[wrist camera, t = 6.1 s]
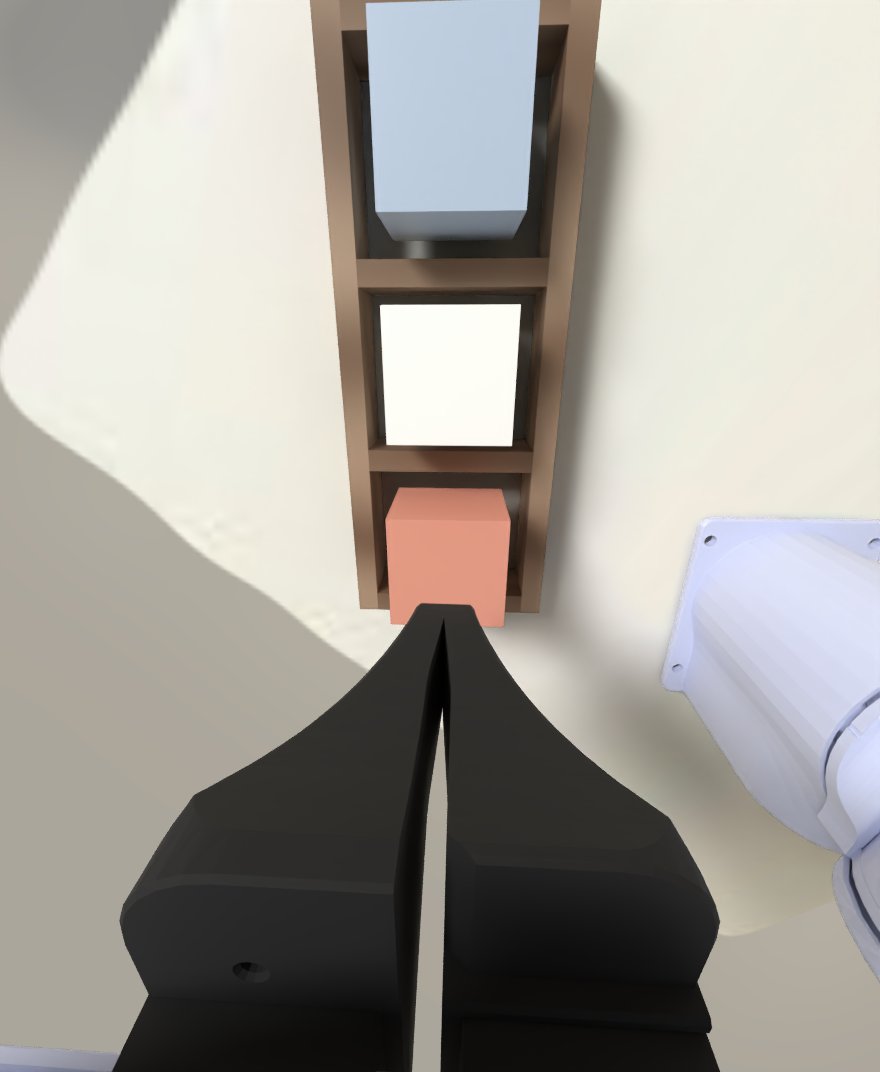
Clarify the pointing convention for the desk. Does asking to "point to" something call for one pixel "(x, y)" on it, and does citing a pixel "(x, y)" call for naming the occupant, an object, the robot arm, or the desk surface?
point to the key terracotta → (448, 551)
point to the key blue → (452, 116)
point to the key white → (450, 373)
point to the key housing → (453, 285)
